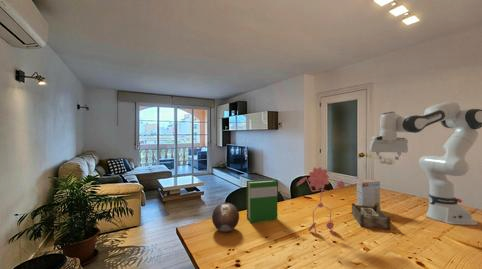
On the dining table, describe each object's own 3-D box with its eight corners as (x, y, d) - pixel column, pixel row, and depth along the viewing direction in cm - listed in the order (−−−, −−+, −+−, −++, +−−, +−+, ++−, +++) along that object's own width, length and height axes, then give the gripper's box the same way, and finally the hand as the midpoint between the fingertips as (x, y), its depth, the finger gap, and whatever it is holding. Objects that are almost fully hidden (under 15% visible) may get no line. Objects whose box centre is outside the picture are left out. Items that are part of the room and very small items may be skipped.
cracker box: (373, 208, 149) (373, 179, 149) (380, 211, 143) (380, 181, 143) (356, 209, 146) (356, 180, 146) (362, 213, 140) (362, 182, 140)
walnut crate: (376, 215, 136) (376, 205, 135) (390, 229, 116) (390, 217, 116) (351, 213, 139) (351, 203, 139) (360, 226, 120) (360, 214, 119)
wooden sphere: (214, 238, 107) (214, 209, 107) (210, 226, 121) (210, 200, 121) (242, 234, 111) (242, 206, 111) (235, 223, 125) (235, 198, 125)
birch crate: (372, 216, 132) (372, 208, 132) (379, 224, 121) (379, 215, 121) (360, 215, 134) (360, 207, 134) (366, 223, 122) (366, 214, 122)
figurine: (349, 234, 110) (347, 168, 111) (302, 237, 107) (301, 169, 108) (333, 223, 125) (332, 164, 126) (291, 225, 123) (290, 165, 123)
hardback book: (250, 223, 125) (250, 183, 125) (246, 218, 132) (246, 180, 132) (277, 219, 130) (277, 181, 130) (272, 215, 137) (272, 178, 137)
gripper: (405, 137, 132) (405, 159, 132) (368, 137, 137) (368, 158, 137) (410, 137, 126) (410, 160, 126) (371, 137, 131) (371, 159, 131)
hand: (388, 159), depth 132 cm, fingers open, 8 cm apart
